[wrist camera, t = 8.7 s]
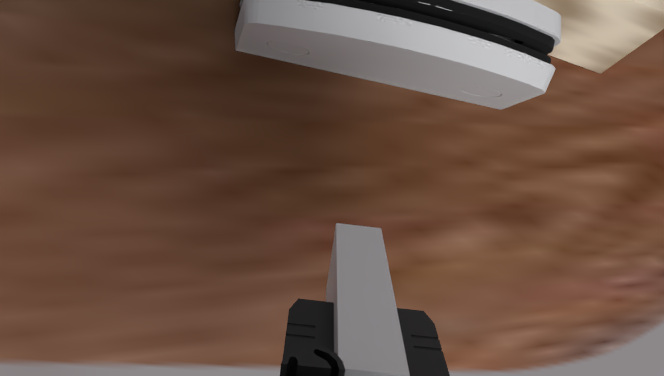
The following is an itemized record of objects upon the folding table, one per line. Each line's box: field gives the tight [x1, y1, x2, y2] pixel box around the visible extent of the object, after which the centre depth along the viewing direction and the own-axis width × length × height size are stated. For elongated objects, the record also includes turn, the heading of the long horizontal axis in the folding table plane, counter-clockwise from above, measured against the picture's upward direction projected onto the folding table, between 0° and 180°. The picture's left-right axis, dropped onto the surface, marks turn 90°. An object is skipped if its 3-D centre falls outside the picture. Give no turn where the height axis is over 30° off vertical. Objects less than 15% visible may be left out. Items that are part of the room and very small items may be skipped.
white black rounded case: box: [235, 0, 561, 109], centre depth 26 cm, size 17×5×10 cm, turn 82°
